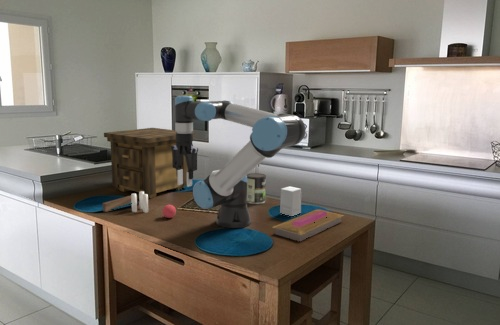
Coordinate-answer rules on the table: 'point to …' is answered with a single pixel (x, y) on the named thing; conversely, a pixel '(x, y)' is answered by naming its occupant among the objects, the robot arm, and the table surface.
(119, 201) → the backstop
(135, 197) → the pin
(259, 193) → the coffee can
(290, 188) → the supplement box
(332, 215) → the pink-striped wooden board
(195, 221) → the table surface
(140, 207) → the pin
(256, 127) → the robot arm
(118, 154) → the wooden drawer cabinet
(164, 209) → the ball
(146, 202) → the front pin
